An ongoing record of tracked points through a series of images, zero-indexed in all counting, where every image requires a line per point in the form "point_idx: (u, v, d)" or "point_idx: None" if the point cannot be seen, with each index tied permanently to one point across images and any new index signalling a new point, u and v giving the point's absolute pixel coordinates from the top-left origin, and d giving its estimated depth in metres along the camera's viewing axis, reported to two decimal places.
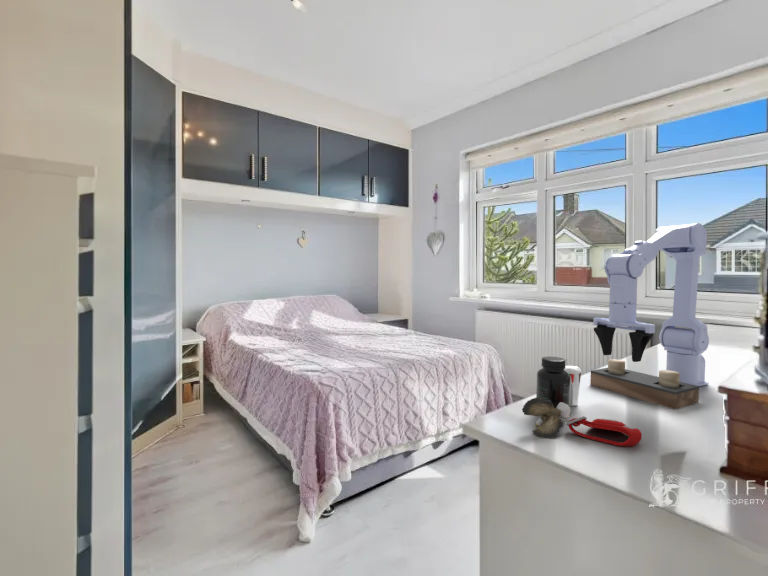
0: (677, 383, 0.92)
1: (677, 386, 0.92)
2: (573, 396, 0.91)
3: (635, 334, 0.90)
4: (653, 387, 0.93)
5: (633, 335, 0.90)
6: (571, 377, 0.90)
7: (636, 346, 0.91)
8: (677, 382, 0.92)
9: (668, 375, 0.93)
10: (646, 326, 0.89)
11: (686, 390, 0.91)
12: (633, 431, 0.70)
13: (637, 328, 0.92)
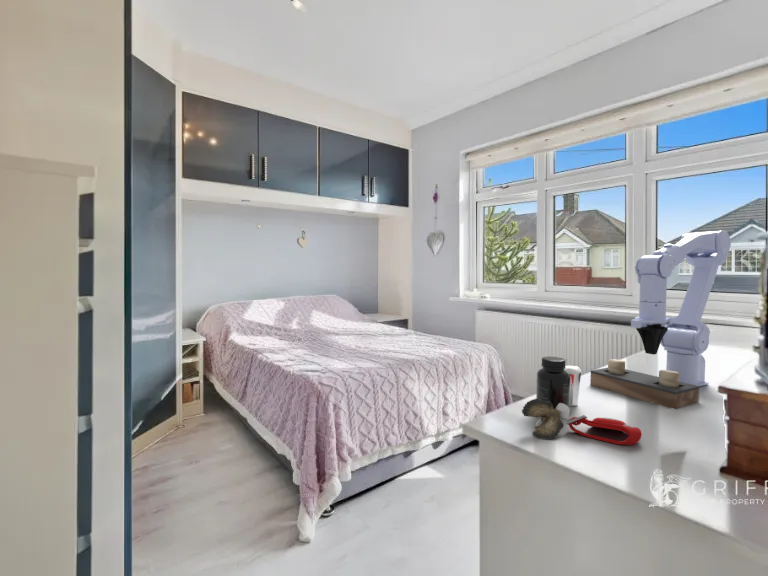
0: (677, 383, 0.92)
1: (677, 386, 0.92)
2: (573, 396, 0.91)
3: None
4: (653, 387, 0.93)
5: None
6: (571, 377, 0.90)
7: (641, 338, 1.02)
8: (677, 382, 0.92)
9: (668, 375, 0.93)
10: None
11: (686, 390, 0.91)
12: (633, 430, 0.71)
13: None
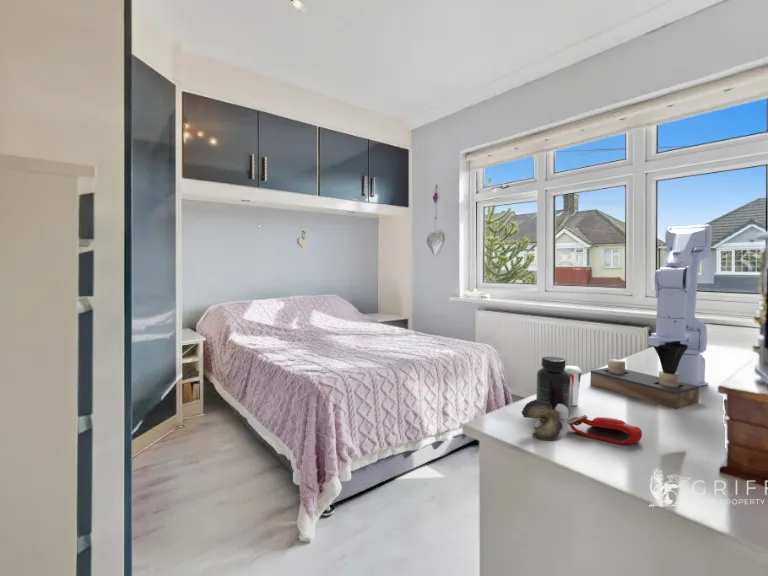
0: (677, 384, 0.92)
1: (677, 387, 0.92)
2: (573, 396, 0.91)
3: None
4: (653, 387, 0.93)
5: None
6: (571, 377, 0.90)
7: (659, 356, 0.95)
8: (677, 383, 0.92)
9: (668, 376, 0.93)
10: None
11: (686, 390, 0.91)
12: (633, 429, 0.71)
13: None
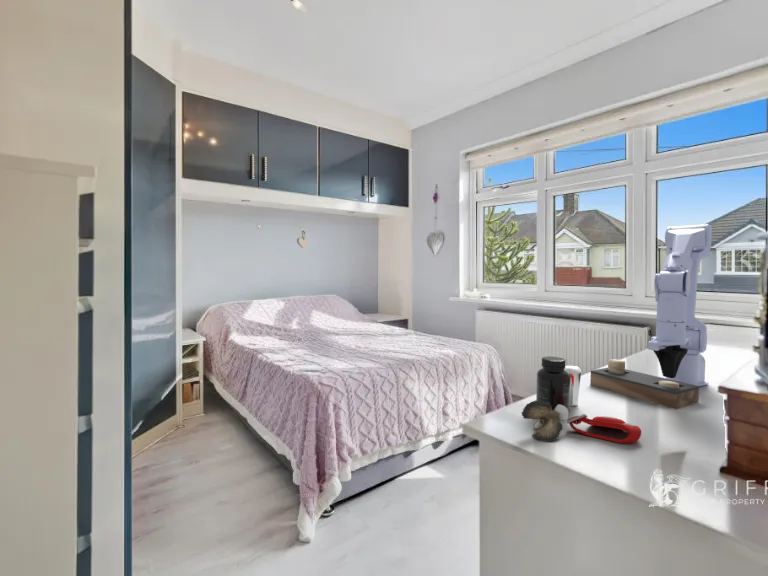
0: None
1: None
2: (573, 396, 0.91)
3: None
4: (653, 387, 0.93)
5: None
6: (571, 377, 0.90)
7: None
8: None
9: (668, 386, 0.93)
10: None
11: (686, 390, 0.91)
12: (633, 428, 0.72)
13: None
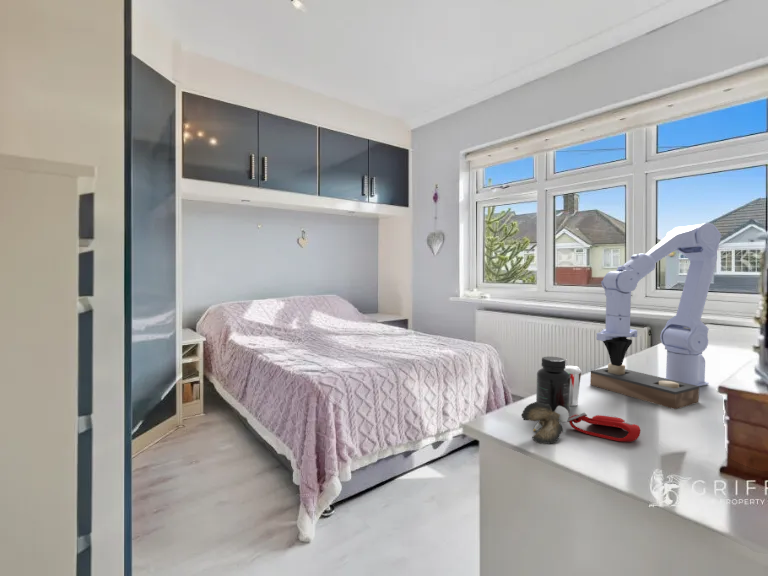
0: None
1: None
2: (573, 396, 0.91)
3: None
4: (653, 387, 0.93)
5: None
6: (571, 377, 0.90)
7: None
8: None
9: (668, 386, 0.93)
10: None
11: (686, 390, 0.91)
12: (632, 427, 0.72)
13: None
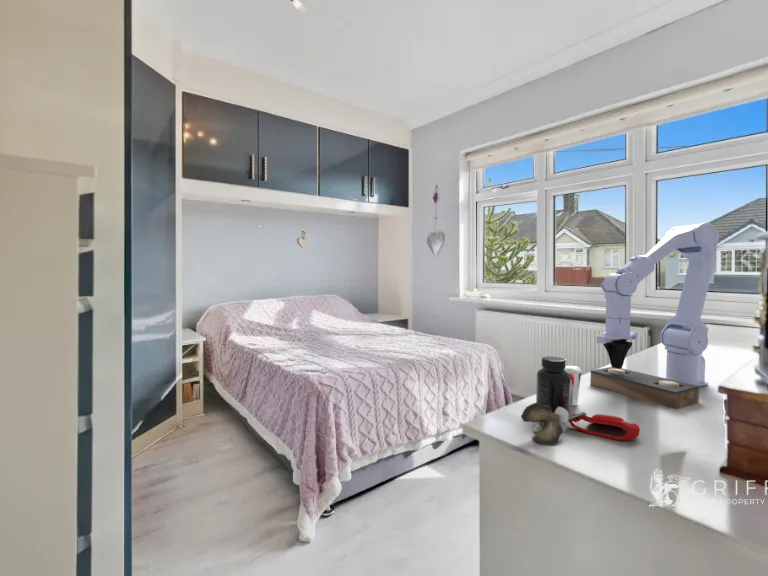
0: None
1: None
2: (573, 396, 0.91)
3: None
4: (653, 387, 0.93)
5: None
6: (571, 377, 0.90)
7: (608, 352, 1.07)
8: None
9: (668, 386, 0.93)
10: None
11: (686, 390, 0.91)
12: (631, 426, 0.73)
13: None
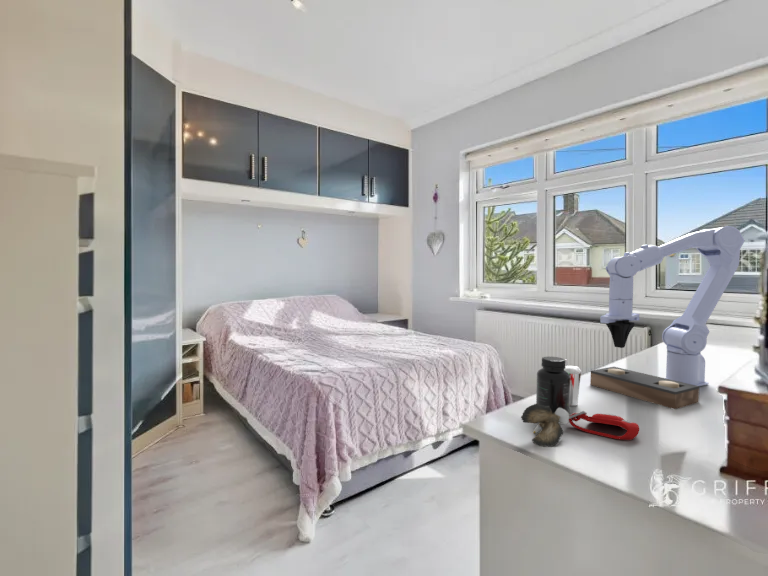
0: None
1: None
2: (573, 396, 0.91)
3: None
4: (653, 387, 0.93)
5: None
6: (571, 377, 0.90)
7: (611, 332, 1.11)
8: None
9: (668, 386, 0.93)
10: None
11: (686, 390, 0.91)
12: (631, 425, 0.73)
13: None
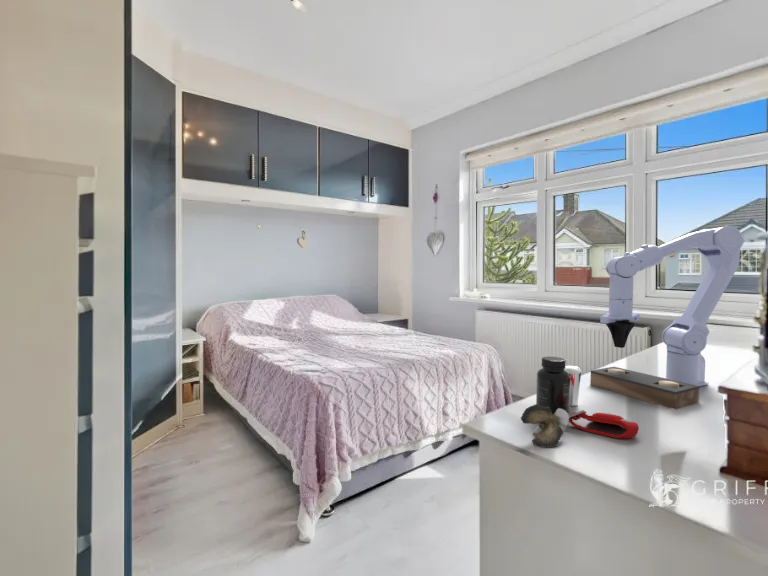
0: None
1: None
2: (573, 396, 0.91)
3: None
4: (653, 387, 0.93)
5: None
6: (571, 377, 0.90)
7: (611, 332, 1.11)
8: None
9: (668, 386, 0.93)
10: None
11: (686, 390, 0.91)
12: (630, 424, 0.73)
13: None
